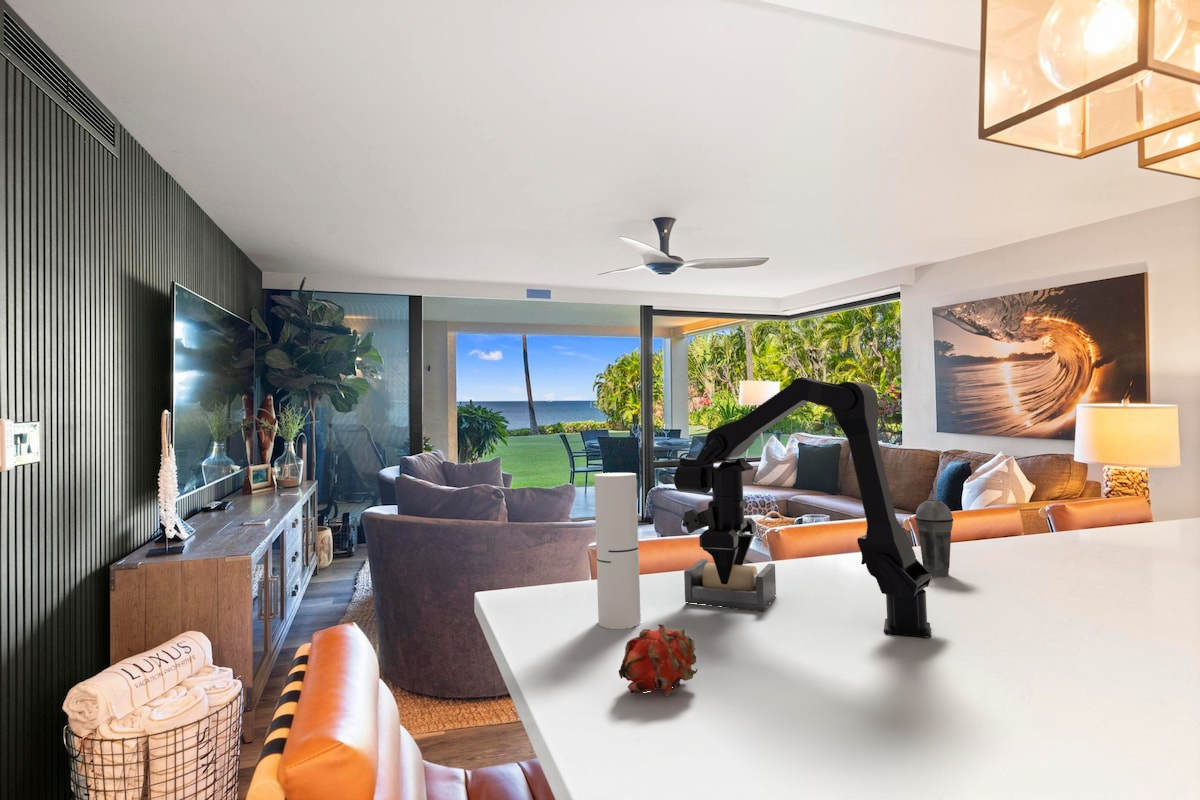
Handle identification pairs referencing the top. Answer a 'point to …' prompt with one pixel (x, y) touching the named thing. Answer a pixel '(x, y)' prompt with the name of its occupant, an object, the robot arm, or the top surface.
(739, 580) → the paper roll
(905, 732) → the top surface
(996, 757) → the top surface
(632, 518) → the cylindrical container
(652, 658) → the dragon fruit
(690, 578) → the cradle
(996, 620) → the top surface
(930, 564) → the beverage cup
